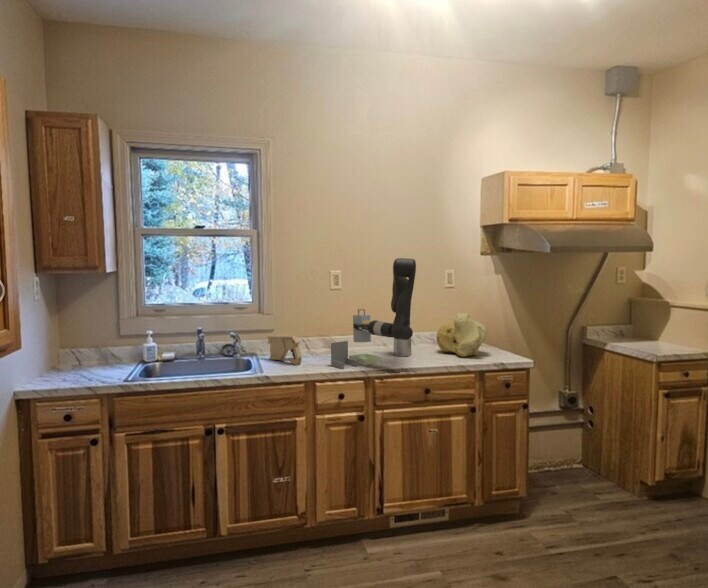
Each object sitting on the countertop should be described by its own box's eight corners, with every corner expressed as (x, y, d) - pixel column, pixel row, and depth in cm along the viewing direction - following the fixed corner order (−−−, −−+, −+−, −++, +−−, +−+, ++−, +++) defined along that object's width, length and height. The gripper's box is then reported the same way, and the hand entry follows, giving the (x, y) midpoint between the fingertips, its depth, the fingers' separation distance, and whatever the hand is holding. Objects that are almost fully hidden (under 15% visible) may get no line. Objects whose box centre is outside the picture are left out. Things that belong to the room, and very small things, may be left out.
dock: (346, 363, 265) (346, 340, 264) (358, 366, 258) (357, 343, 257) (331, 365, 259) (330, 342, 258) (342, 369, 251) (342, 345, 250)
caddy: (362, 341, 270) (361, 309, 270) (371, 341, 264) (370, 309, 265) (353, 341, 266) (352, 309, 267) (362, 342, 261) (361, 309, 261)
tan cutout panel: (302, 364, 262) (300, 335, 262) (298, 365, 260) (295, 336, 260) (273, 362, 279) (271, 335, 279) (269, 363, 277) (267, 336, 276)
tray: (366, 358, 278) (366, 352, 277) (381, 362, 267) (381, 356, 267) (348, 361, 270) (348, 355, 270) (364, 365, 260) (364, 359, 260)
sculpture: (459, 329, 264) (434, 305, 290) (452, 371, 275) (429, 344, 301) (500, 324, 272) (472, 301, 298) (492, 365, 282) (465, 340, 308)
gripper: (390, 319, 259) (369, 316, 272) (368, 322, 250) (347, 319, 263) (390, 334, 259) (369, 330, 272) (368, 337, 250) (348, 333, 264)
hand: (358, 325), depth 268 cm, fingers closed on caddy, 6 cm apart
